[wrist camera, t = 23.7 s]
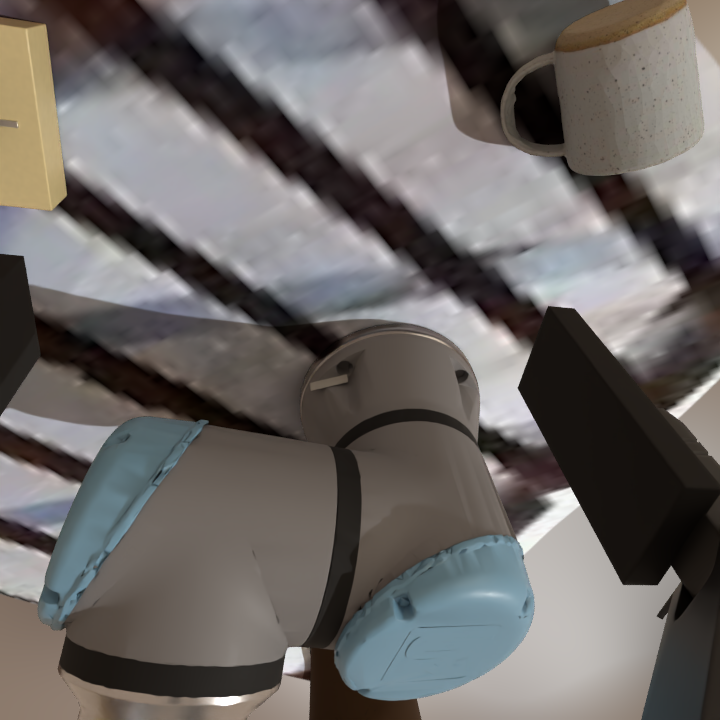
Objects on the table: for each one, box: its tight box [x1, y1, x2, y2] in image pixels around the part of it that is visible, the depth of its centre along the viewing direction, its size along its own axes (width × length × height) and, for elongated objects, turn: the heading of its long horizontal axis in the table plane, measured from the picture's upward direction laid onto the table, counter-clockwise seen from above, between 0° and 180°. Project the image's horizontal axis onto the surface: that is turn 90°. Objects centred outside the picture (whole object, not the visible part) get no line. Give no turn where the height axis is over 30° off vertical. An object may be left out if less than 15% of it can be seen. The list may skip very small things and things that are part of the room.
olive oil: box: [309, 648, 421, 720], centre depth 56 cm, size 11×11×25 cm
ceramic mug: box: [500, 0, 704, 176], centre depth 35 cm, size 11×8×8 cm
